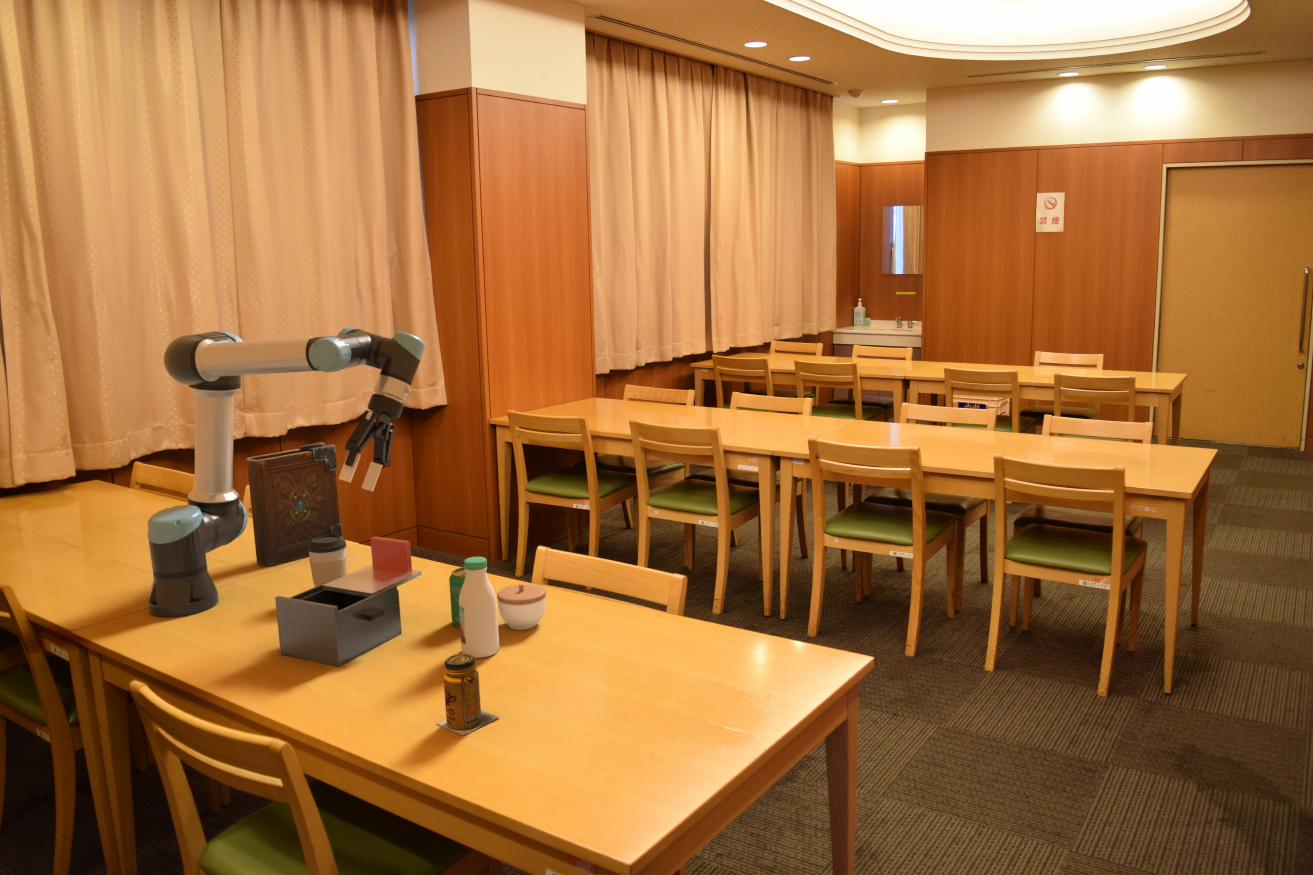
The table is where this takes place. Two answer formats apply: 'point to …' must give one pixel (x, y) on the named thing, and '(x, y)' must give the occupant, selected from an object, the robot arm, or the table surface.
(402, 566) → the lid
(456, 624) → the beverage can
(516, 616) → the lidded jar
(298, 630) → the gray drawer chest
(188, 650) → the table surface
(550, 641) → the table surface
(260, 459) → the decorative book
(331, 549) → the coffee cup
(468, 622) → the milk bottle
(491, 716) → the condiment
